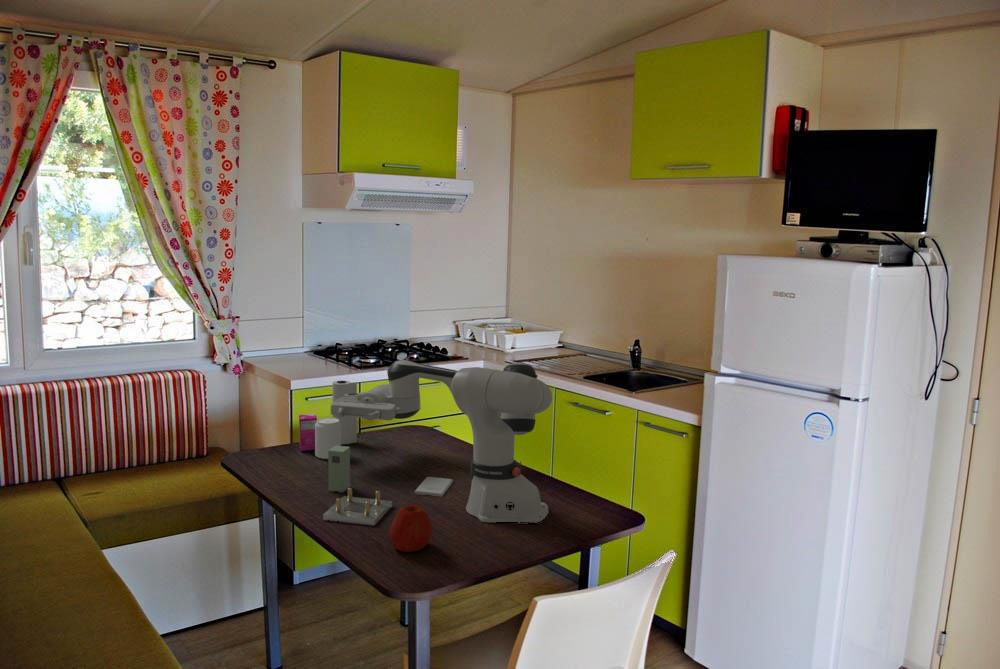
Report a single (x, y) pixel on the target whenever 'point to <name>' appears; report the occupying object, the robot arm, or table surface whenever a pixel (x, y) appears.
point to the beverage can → (326, 436)
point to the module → (339, 468)
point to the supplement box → (307, 432)
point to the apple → (411, 529)
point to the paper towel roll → (346, 422)
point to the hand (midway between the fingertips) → (354, 416)
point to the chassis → (358, 509)
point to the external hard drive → (434, 486)
